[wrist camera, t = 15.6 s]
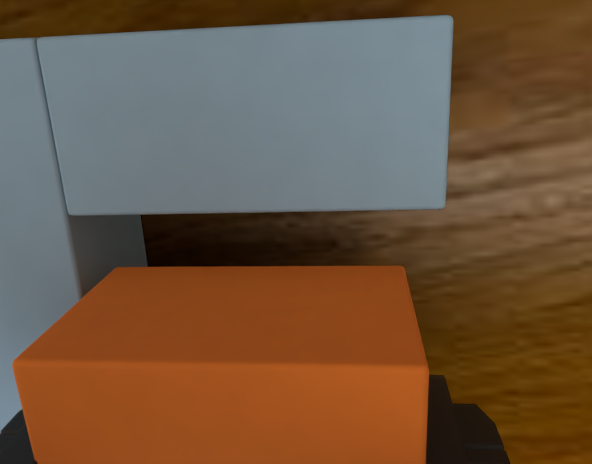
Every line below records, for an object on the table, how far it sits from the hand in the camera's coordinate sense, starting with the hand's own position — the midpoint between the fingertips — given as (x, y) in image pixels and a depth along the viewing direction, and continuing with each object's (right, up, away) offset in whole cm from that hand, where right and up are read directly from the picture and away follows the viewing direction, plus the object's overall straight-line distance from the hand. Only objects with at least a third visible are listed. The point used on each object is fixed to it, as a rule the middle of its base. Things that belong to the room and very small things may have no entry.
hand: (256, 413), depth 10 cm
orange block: (0, 0, +1) cm, 1 cm away
